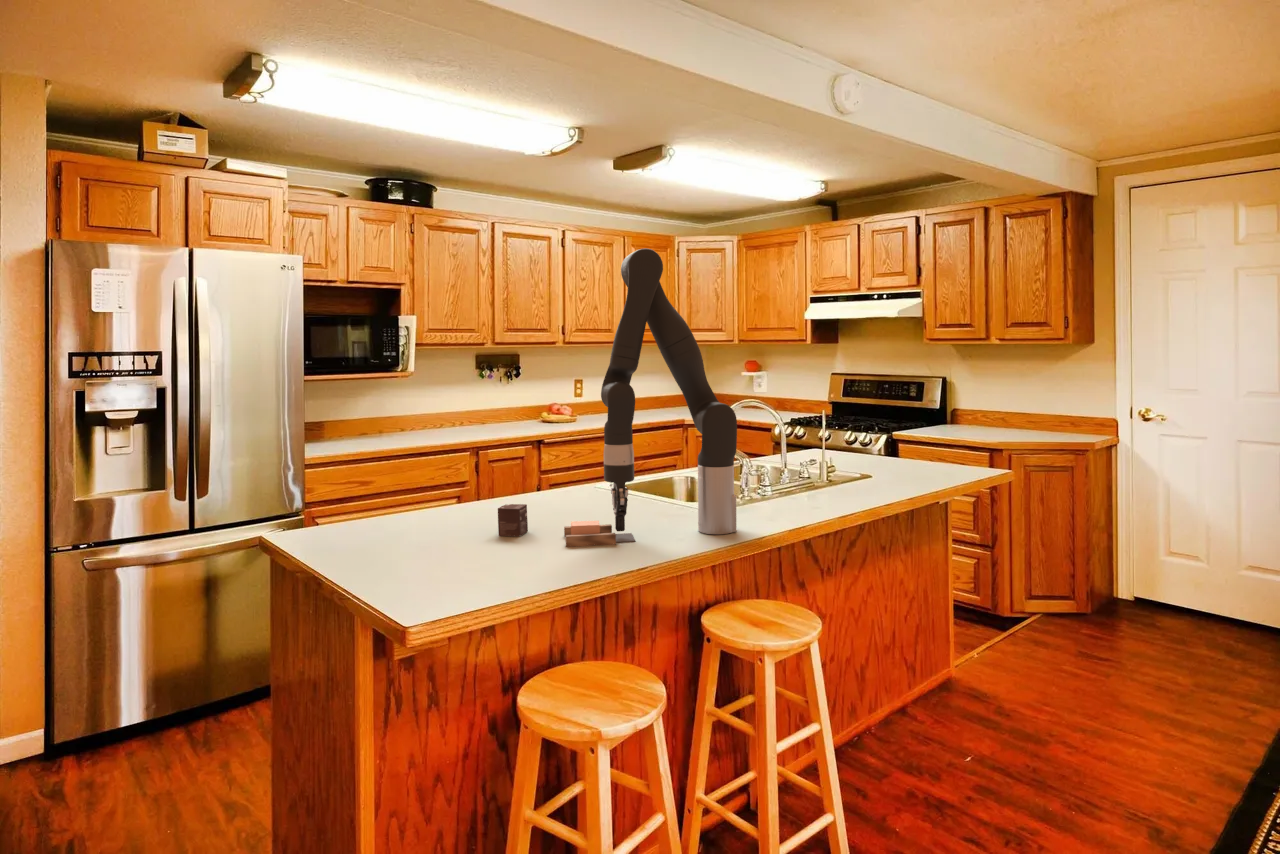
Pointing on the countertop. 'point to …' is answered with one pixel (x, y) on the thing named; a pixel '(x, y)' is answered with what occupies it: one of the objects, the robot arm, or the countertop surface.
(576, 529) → the block
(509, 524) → the box
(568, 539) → the brown wooden channel
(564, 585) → the countertop surface
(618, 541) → the mat
